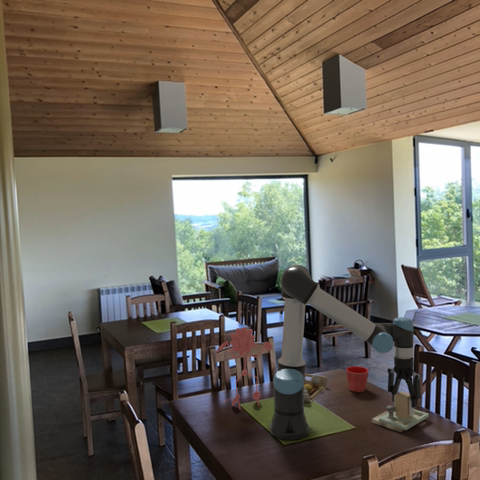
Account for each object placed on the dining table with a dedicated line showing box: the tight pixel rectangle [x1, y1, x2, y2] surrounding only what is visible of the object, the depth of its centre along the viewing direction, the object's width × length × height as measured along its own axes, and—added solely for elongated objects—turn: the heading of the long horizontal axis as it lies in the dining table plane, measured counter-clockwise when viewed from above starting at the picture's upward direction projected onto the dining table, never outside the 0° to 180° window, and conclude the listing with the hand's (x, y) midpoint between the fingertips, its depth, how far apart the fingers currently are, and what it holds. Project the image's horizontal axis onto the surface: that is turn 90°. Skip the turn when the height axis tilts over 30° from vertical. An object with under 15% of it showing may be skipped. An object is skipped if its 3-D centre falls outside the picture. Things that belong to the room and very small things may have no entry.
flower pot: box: [345, 365, 369, 393], centre depth 239 cm, size 11×11×10 cm
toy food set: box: [273, 373, 329, 403], centre depth 237 cm, size 25×18×8 cm
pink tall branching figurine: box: [215, 327, 273, 411], centre depth 225 cm, size 15×26×35 cm, turn 110°
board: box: [371, 405, 421, 433], centre depth 202 cm, size 13×18×7 cm
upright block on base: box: [379, 391, 430, 431], centre depth 199 cm, size 12×18×10 cm, turn 132°
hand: (404, 412), depth 200 cm, fingers open, 6 cm apart
